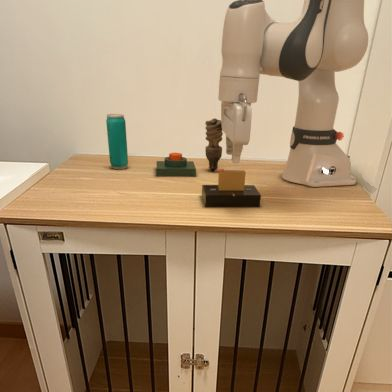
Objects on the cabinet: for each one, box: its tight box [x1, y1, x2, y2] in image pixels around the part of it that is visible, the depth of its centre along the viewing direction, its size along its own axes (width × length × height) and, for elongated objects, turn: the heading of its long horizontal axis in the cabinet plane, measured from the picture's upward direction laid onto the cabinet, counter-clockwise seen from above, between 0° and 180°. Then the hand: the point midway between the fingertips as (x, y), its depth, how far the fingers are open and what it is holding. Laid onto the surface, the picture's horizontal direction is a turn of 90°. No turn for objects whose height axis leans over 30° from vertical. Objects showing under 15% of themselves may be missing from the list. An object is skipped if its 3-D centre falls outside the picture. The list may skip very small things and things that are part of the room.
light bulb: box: [204, 117, 224, 172], centre depth 128 cm, size 6×6×15 cm
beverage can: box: [105, 113, 129, 171], centre depth 128 cm, size 6×6×15 cm
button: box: [168, 152, 183, 160], centre depth 127 cm, size 4×4×2 cm
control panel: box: [201, 184, 262, 208], centre depth 106 cm, size 14×11×3 cm
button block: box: [155, 156, 197, 177], centre depth 129 cm, size 12×10×4 cm
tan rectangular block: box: [217, 168, 246, 191], centre depth 104 cm, size 6×2×5 cm, turn 95°
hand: (232, 158), depth 101 cm, fingers open, 8 cm apart
